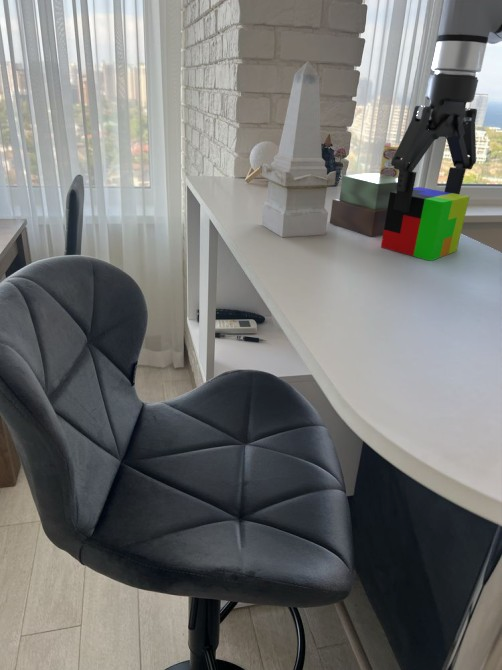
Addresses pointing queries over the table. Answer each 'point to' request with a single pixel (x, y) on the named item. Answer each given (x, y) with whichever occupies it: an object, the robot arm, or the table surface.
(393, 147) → the candy box
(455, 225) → the puzzle toy
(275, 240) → the table surface
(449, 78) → the robot arm
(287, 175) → the miniature monument
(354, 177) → the block stack
